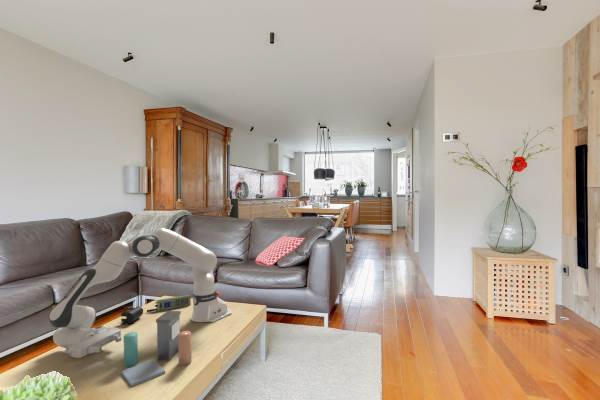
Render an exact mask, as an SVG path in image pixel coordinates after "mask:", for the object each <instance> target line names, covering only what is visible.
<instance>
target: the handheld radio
mask: <svg viewBox="0 0 600 400" xmlns="http://www.w3.org/2000/svg"><path fill="white" fill-rule="evenodd" d="M191 300H192V297H191V294H185V295H184V294H183V295H180V296H174V297H168V298H162V299H157V300H155V302H154V304H155V305H154V307H155V308H151V309H147V310H146V313H151V312H154V311H157V312H163V311H169V310H173V309H178V308H183V307H188V306H191Z"/></svg>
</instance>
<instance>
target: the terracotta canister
mask: <svg viewBox="0 0 600 400" xmlns="http://www.w3.org/2000/svg"><path fill="white" fill-rule="evenodd" d="M177 353H178V365H179V366H189V364H191V363H192V331H191V330H183V331H180V333H179V334H178V352H177Z"/></svg>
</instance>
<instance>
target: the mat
mask: <svg viewBox="0 0 600 400" xmlns="http://www.w3.org/2000/svg"><path fill="white" fill-rule="evenodd" d="M120 372H121V373H120V374H121V375H122V377H123V378H124V379H125V380H126V381H127V383H128V385H130V387H134V386H136V385H139V384H142V383H144V382H147V381H149V380H151V379H154V378H156V377H158V376H161V375H163V374H165V373H166V370H165V369H164V368H163V367H162V366H161V365H160V364H159V363H158V362H157V361H156V360H155V359H151V360H148V361H145V362H143V363H138V364H136V365H135V366H132V367H127V368H126V369H123V370H121V371H120Z"/></svg>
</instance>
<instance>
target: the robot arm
mask: <svg viewBox="0 0 600 400" xmlns="http://www.w3.org/2000/svg"><path fill="white" fill-rule="evenodd" d="M158 249H159V250H162V251H164V252H166V253H168V254H170V255H172V256H174V257H176V258H179V259H180V260H182V261H184V262H186V263H187V264H189V265H191V270H192V276H193V294H192V303H193V304H192V305H193V309H192V314H191V318H190V320H191V321H192V322H196V323H214V322H216V321H218V320H221V319H223V318H225V317H228V316H230V315H232V310H231V309H229V308H228V304H227V302H226V301H224V300H223V299H221V298H219V297H220V296H221V295H222V294H221V292H220V291H215V277H214V273H213V270H214V269H215V268H216V267H217V264H218V258H217V255H216V254H215V253H214V252H213V251H211V250H210V249H208V248H206V247H204V246H202V245H200V244H198V243H197V242H194V241H193V240H191V239H189V238H187V237H186V236H183V235H181V234H179V233H178V232H175V231H174V230H171V229H168V228H165V227H158V228H157V229H155V230H153V232H152V234H151V235H149V234H148V235H147V234H146V235H145V234H140V235H138V236H134V237H133V238H131V239H130V240H128V241H123V240H115V241H113V242H112V243H111V244H110V245H109V246H108V247H107V249H106V250H105V251H104V252H103V254H102V256H101V257H100V259H99V260H98V261H97V263H96V264H95V265H94V266H92V267H91V268H89V269H87V270H85V271H84V272H83V273H82V274H81V275H80V276H79V277H78V279H77V280H76V281H75V283H73V285H72V286H71V288H69V290H68V292H67V293H66V294H65V295H64V297H63V298H61V300H59V302H58V303H57V304H56V305H55V306H54V307H53V308H52V309H51V310H50V311H49V314H48V321H49V323H50V325H51V326H52V327H53V328H55V329H56V328H57V329H56V330H55V332H54V333H53V335H52V339H53V342H54V344H55V345H57V346H58V347H60V348H63V349H65V350H64V351H63V352H64V354H67V355H69V356H70V357H72V358H74V359H81V358H83V357H85V356H87V355H88V354H94V353H96V354H97V353H101V352H102V350H103V349H102V347H104V346H107V345H109V344H110V343H112V342H114V341H115V342H116V343H119V342H121V341H122V331H121V329H120V328H117V327H112V326H111V327H109V326H106V325H100V326H96V327H93V326H94V325H95V322H96V318H97V313H96V309H95V308H94V307H92V306H87V305H80V304H77V303H78V302H79V301H80V299H81V298H82V297H83V296H84V294H85V293H86V292H87V290H88V289H89V288H91V287H92V286H95V285H97V284H102V283H103V284H104V283H108V282H112V281H114V280H116V279H117V278H118V277H119V276H120V274H121V273H122V271H123V270H124V268H125V266H126V264H127V262H128V261H129V259H130V258H133V257H138V258H147V257H149V256H151V255H153V254H154V252H156V251H157V250H158Z"/></svg>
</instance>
